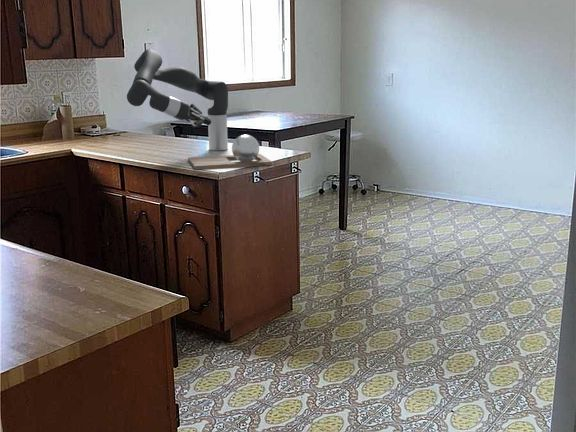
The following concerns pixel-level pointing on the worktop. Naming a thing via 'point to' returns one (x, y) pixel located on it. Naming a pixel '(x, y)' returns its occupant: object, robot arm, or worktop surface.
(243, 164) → the wooden tray
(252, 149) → the ball
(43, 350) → the worktop surface
